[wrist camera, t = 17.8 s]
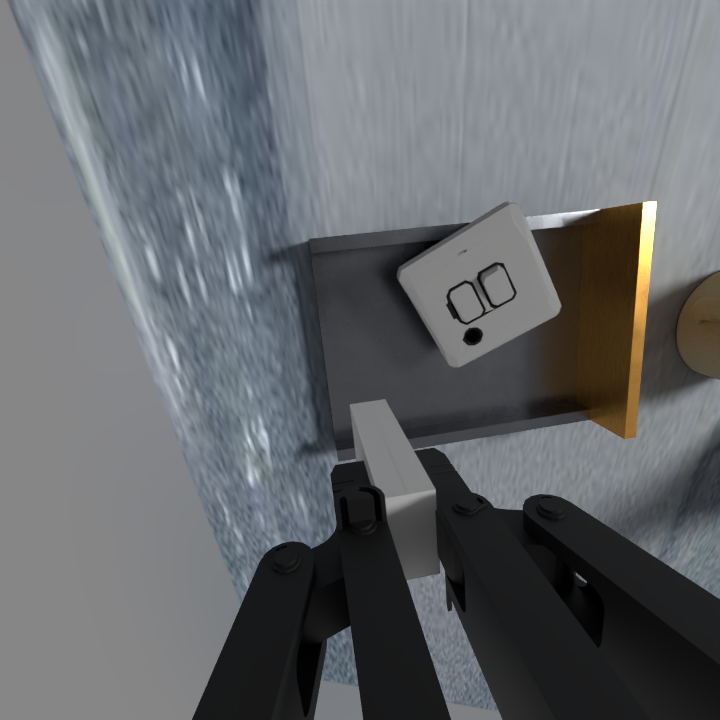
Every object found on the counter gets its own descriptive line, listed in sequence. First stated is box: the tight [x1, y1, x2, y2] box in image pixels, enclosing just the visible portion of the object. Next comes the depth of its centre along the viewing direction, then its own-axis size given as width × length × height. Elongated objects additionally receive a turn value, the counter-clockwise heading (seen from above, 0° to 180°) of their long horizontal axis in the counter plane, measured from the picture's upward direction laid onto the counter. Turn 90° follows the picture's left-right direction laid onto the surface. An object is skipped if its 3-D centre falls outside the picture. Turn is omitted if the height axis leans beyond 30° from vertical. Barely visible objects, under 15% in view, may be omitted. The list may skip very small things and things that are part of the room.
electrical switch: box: [397, 201, 561, 368], centre depth 30 cm, size 9×5×9 cm
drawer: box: [309, 201, 657, 461], centre depth 32 cm, size 18×24×8 cm
